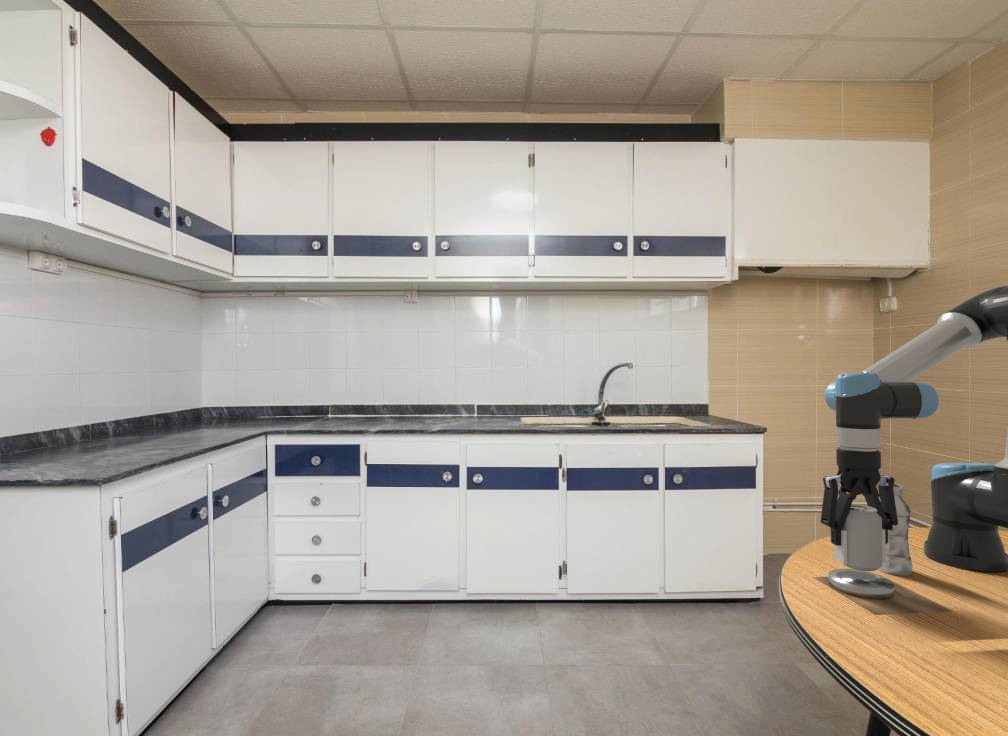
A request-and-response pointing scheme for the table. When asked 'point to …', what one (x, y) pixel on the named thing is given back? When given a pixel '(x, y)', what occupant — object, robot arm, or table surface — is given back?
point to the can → (863, 538)
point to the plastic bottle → (898, 540)
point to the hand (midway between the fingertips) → (859, 560)
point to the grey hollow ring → (861, 584)
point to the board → (894, 601)
